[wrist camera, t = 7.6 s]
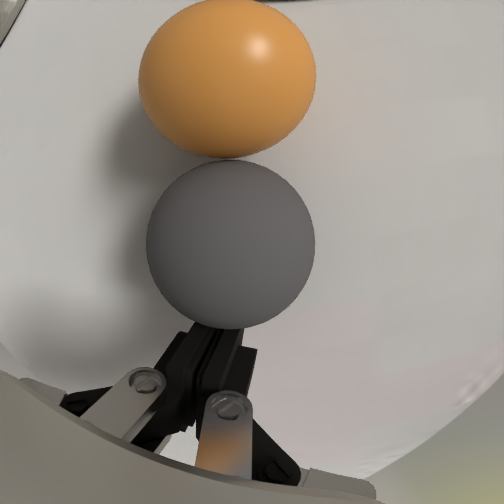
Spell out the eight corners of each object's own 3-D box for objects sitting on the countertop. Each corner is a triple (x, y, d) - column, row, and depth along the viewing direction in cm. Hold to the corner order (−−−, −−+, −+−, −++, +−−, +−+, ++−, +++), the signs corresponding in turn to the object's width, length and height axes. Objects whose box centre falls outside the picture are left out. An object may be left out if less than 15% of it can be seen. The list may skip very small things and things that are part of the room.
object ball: (193, 172, 11) (119, 186, 6) (169, 60, 10) (96, 15, 5) (324, 144, 10) (353, 130, 5) (292, 27, 9) (288, -51, 4)
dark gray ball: (141, 364, 6) (165, 133, 5) (141, 284, 11) (158, 152, 10) (321, 357, 8) (369, 185, 7) (259, 292, 13) (283, 176, 12)
